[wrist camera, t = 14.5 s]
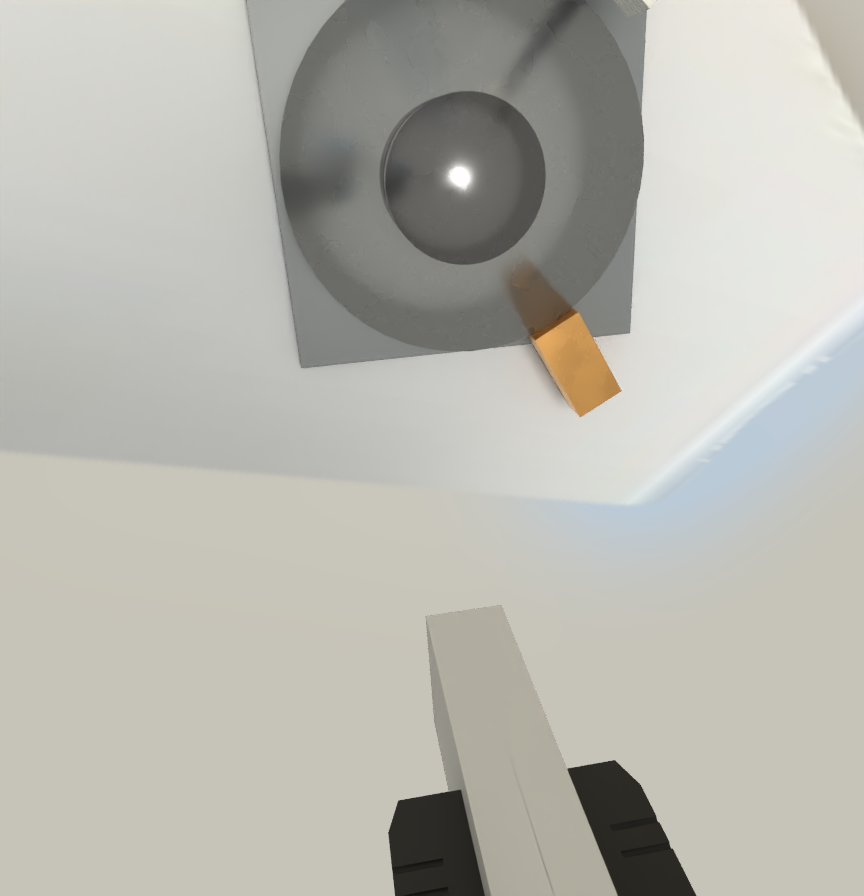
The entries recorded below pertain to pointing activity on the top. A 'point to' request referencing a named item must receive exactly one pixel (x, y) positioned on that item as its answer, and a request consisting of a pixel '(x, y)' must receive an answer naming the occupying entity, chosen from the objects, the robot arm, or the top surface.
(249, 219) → the top surface
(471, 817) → the robot arm
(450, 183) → the dark grey bowl
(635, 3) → the post
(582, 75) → the turntable
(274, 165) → the base plate
